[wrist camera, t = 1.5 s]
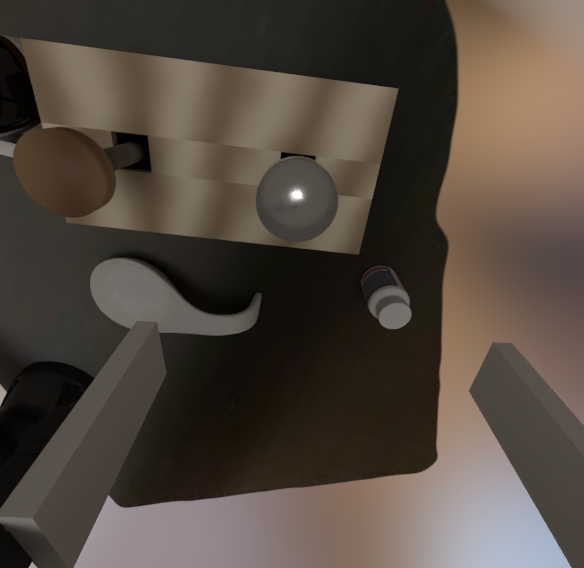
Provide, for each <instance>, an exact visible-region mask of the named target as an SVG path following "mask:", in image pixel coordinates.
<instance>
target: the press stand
mask: <svg viewBox="0 0 584 568" xmlns="http://www.w3.org/2000/svg"><path fill="white" fill-rule="evenodd" d="M20 40H21V44H22V48H23V52H24V56H25V60H26V64H27V68H28V72H29V76H30V79H31V83H32V87H33V91H34V95H35V99H36V103H37V107H38V111H39V115H40V119H41V123H42V127H43V128H52V127H67V128H72V129H75V130H78V131H80V132H82V133H84V134H86V135H87V136H89V137H90V138H91V139H93V140H94V141H95V142H96V143H97V144H98V145H99V146H100V147H101V148H102V149H105V148H109V147H112V146H116V145H120V144H124V143H128V142H129V141H128V134H127V133H131V134H140V135H148V141H149V151H150V161H151V170H152V171H148V170H139V169H132V164H131V165H129V166H126V167H124V168H121V169H119V170H116V171H114V172H115V176H116V188H115V192H114V195H113V197H112V199H111V200H110V201H109V202H108V203H107V204H106V205H105V206H103V207H101V208H100V209H98V210H96V211H94V212H92V213H91V214H89V215H86V216H83V217H76V218H72V217H65V218H66V222H67V223H74V224H83V225H92V226H102V227H111V228H120V229H129V230H138V231H148V232H157V233H166V234H175V235H184V236H193V237H203V238H212V239H221V240H230V241H239V242H248V243H258V244H267V245H276V246H285V247H294V248H303V249H313V250H322V251H331V252H340V253H349V254H359V251H360V247H361V243H362V239H363V234H364V230H365V226H366V222H367V218H368V214H369V209H370V205H371V201H372V197H373V193H374V189H375V184H376V180H377V176H378V172H379V168H380V164H381V159H382V155H383V151H384V147H385V143H386V139H387V135H388V130H389V126H390V122H391V118H392V114H393V110H394V105H395V101H396V97H397V93H398V89H396V88H389V87H382V86H374V85H367V84H359V83H352V82H344V81H337V80H330V79H322V78H315V77H307V76H300V75H292V74H285V73H278V72H270V71H263V70H255V69H248V68H240V67H233V66H226V65H218V64H211V63H203V62H196V61H188V60H181V59H174V58H166V57H159V56H151V55H144V54H136V53H129V52H122V51H114V50H107V49H99V48H92V47H84V46H77V45H70V44H62V43H55V42H47V41H40V40H32V39H25V38H20ZM281 152H286V153H294V154H302V155H310V156H316V158H315V161H317V162H319V163H320V164H321V165H322V166H324V167H325V168H326V170H327V171H328V172H329V174H330V175H331V177H332V179H333V182H334V184H335V186H336V189H337V193H338V209H337V212H336V215H335V218H334V220H333V222H332V223H331V225H330V226H329V227H328V228H327V229H326V230H325V231H324V232H323V233H322V234H321V235H319V236H317V237H316V238H313V239H311V240H308V241H303V242H290V241H286V240H282V239H280V238H278V237H276V236H274V235H273V234H272V233H270V232H269V231H268V230H267V229H266V228H265V227H264V225H263V224H262V222H261V221H260V219H259V216H258V213H257V210H256V193H257V189H258V186H259V184H260V181H261V179H262V177H263V175H264V174H265V172H266V171H267V170H268V168H269V167H270V166H271V165H273V164H274V163H275V162H277V161H279V160H281Z"/></svg>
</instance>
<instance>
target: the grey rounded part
mask: <svg viewBox="0 0 584 568" xmlns="http://www.w3.org/2000/svg"><path fill="white" fill-rule="evenodd" d="M337 209H338V193H337V189H336V186H335V184H334V182H333V179H332V177H331V175H330V174H329V172H328V171H327V170H326V168H325V167H324V166H322V165H321V164H320V163H319V162H317V161H315V160H313V159H311V158H308V157H304V156H290V157H286V158H283V159H281V160H279V161H277V162H275V163H274V164H273V165H271V166H270V167H269V168H268V170H267V171H266V172H265V174H264V175H263V177H262V179H261V181H260V184H259V186H258V189H257V193H256V210H257V213H258V216H259V219H260V221H261V222H262V224H263V225H264V227H265V228H266V229H267V230H268V231H269V232H270V233H272V234H273V235H274V236H276V237H278V238H280V239H282V240H286V241H290V242H303V241H308V240H311V239H313V238H316V237H317V236H319V235H321V234H322V233H323V232H324V231H325V230H326V229H327V228H328V227H329V226H330V225H331V223H332V222H333V220H334V218H335V215H336V212H337Z"/></svg>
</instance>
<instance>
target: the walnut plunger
mask: <svg viewBox="0 0 584 568" xmlns="http://www.w3.org/2000/svg"><path fill="white" fill-rule="evenodd" d="M149 157H150V151H149V141H148V138H144V139H140V140H136V141H132V142H128V143H124V144H120V145H116V146H112V147H109V148H105V149H102V148H101V147H100V146H99V145H98V144H97V143H96V142H95V141H94V140H93V139H91V138H90V137H89V136H87V135H86V134H84V133H82V132H80V131H78V130H75V129H72V128H67V127H52V128H43V129H35V130H32V131H29V132H27V133H25V134H24V135H23V136H21V137H20V139H19V140H18V141H17V143H16V145H15V148H14V152H13V164H14V169H15V172H16V175H17V177H18V179H19V181H20V183H21V185H22V186H23V188H24V189H25V191H26V192H27V193H28V194H29V195H30V196H31V198H32V199H34V200H35V201H36V202H37V203H38V204H39V205H41V206H42V207H44V208H45V209H47V210H49V211H51V212H53V213H55V214H58V215H61V216H64V217H72V218H76V217H83V216H86V215H89V214H91V213H92V212H94V211H96V210H98V209H100V208H101V207H103V206H105V205H106V204H107V203H108V202H109V201H110V200H111V199H112V197H113V195H114V192H115V188H116V176H115V172H114V171H116V170H119V169H121V168H124V167H126V166H129V165H131V164H134V163H136V162H139V161H141V160H144V159H147V158H149Z"/></svg>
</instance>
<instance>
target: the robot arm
mask: <svg viewBox="0 0 584 568" xmlns="http://www.w3.org/2000/svg"><path fill="white" fill-rule="evenodd" d="M166 374H167V373H166V368H165V362H164V357H163V352H162V347H161V341H160V336H159V331H158V325H157V322H150V321H136V323H135V324H134V325H133V327H132V328H131V329H130V331H129V332H128V334H127V335H126V336H125V338H124V339H123V340H122V342H121V343H120V345H119V346H118V347H117V349H116V350H115V351H114V353H113V354H112V356H111V357H110V358H109V360H108V361H107V362H106V364H105V365H104V367H103V368H102V369H101V371H100V372H99V373H98V375H97V376H96V378H95V379H93V378H91V377H90V376H89V375H87V374H86V373H84V372H82V371H80V370H78V369H76V368H74V367H71V366H68V365H65V364H61V363H55V362H39V363H35V364H32V365H29V366H28V367H26V368H25V369H24V370H23V371H22V372H21V373H20V374H19V375H18V376H17V377H16V378H15V379H14V380H13V382H12V383H11V385H10V388H9V390H8V392H7V394H6V396H5V398H4V400H3V402H2V404H1V406H0V568H28V567H29V566H30V564H31V562H33V563H34V564H35V565H36V567H37V568H73V567H74V565H75V563H76V561H77V559H78V557H79V555H80V553H81V551H82V549H83V546H84V545H85V542H86V540H87V538H88V536H89V534H90V532H91V530H92V527H93V526H94V524H95V522H96V519H97V517H98V515H99V513H100V511H101V509H102V507H103V505H104V503H105V501H106V499H107V496H108V494H109V492H110V490H111V488H112V486H113V484H114V482H115V480H116V478H117V476H118V474H119V472H120V469H121V467H122V465H123V463H124V461H125V459H126V457H127V455H128V453H129V451H130V449H131V447H132V444H133V442H134V440H135V438H136V436H137V434H138V432H139V430H140V428H141V426H142V424H143V421H144V419H145V417H146V415H147V413H148V411H149V409H150V407H151V405H152V403H153V401H154V399H155V396H156V394H157V392H158V390H159V388H160V386H161V384H162V382H163V380H164V378H165V376H166ZM469 392H470V393H471V395H472V397H473V399H474V401H475V402H476V404H477V406H478V407H479V409H480V411H481V413H482V414H483V416H484V418H485V419H486V421H487V423H488V425H489V426H490V428H491V430H492V432H493V433H494V435H495V437H496V438H497V440H498V442H499V444H500V445H501V447H502V449H503V450H504V452H505V454H506V456H507V457H508V459H509V461H510V462H511V464H512V466H513V467H514V469H515V471H516V472H517V474H518V476H519V478H520V480H521V481H522V483H523V485H524V487H525V488H526V490H527V491H528V493H529V495H530V497H531V498H532V500H533V502H534V504H535V505H536V507H537V509H538V510H539V512H540V514H541V516H542V517H543V519H544V521H545V523H546V524H547V526H548V528H549V529H550V531H551V533H552V534H553V536H554V538H555V540H556V541H557V543H558V545H559V547H560V548H561V550H562V552H563V554H564V555H565V557H566V559H567V560H568V562H569V564H570V566H571V567H572V568H584V426H583V424H582V423H581V422H580V421H579V420H578V418H577V417H576V416H575V415H574V414H573V413H572V412H571V410H570V409H569V408H568V407H567V406H566V405H565V404H564V402H563V401H562V400H561V399H560V398H559V397H558V395H557V394H556V393H555V392H554V391H553V390H552V389H551V387H550V386H549V385H548V384H547V383H546V382H545V380H544V379H543V378H542V377H541V376H540V375H539V374H538V373H537V371H536V370H535V369H534V368H533V367H532V366H531V364H530V363H529V362H528V361H527V360H526V359H525V358H524V356H523V355H522V354H521V353H520V352H519V351H518V349H517V348H516V347H515V346H514V345H513V344H512V343H496V342H493V343H492V346H491V348H490V350H489V351H488V354H487V356H486V357H485V360H484V361H483V364H482V365H481V368H480V370H479V372H478V374H477V376H476V378H475V380H474V382H473V384H472V386H471V388H470V390H469Z"/></svg>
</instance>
